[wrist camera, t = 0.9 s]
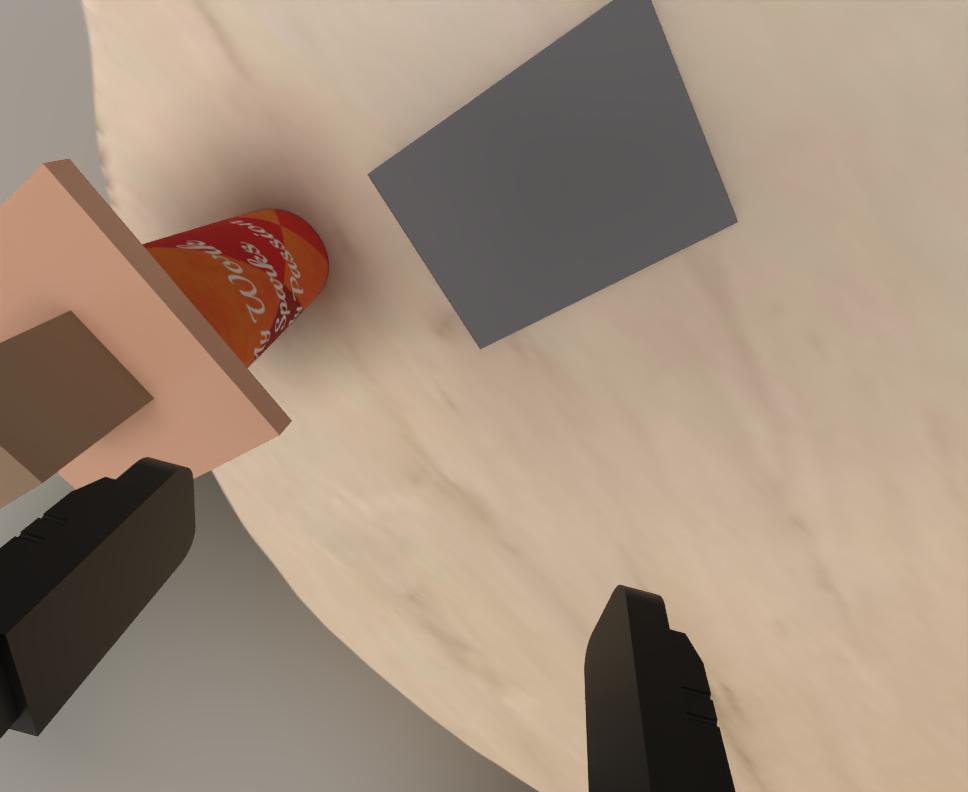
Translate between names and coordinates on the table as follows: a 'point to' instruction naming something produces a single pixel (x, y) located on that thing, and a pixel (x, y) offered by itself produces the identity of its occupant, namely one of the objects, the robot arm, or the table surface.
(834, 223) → the table surface
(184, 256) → the coffee cup
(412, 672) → the table surface
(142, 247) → the cover
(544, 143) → the mat
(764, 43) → the table surface
